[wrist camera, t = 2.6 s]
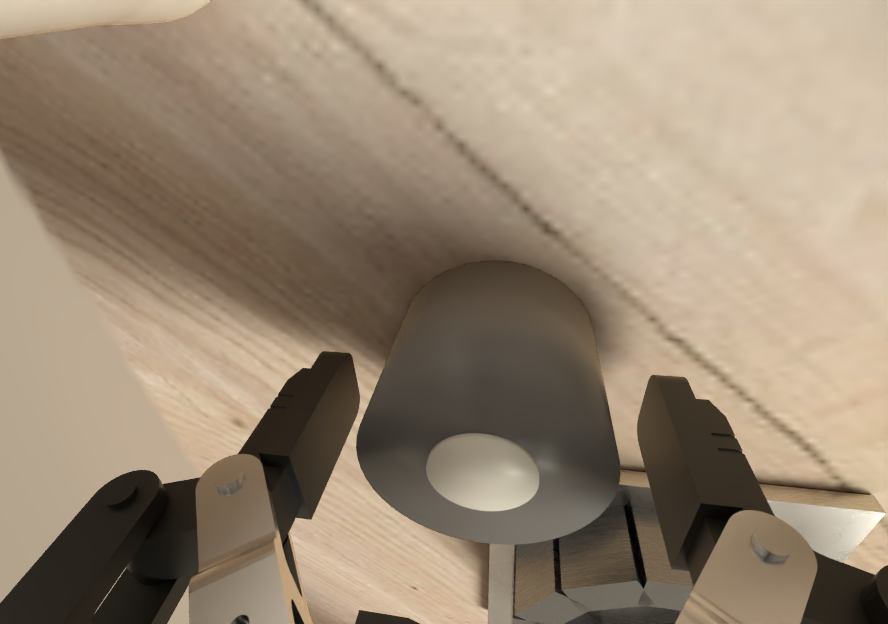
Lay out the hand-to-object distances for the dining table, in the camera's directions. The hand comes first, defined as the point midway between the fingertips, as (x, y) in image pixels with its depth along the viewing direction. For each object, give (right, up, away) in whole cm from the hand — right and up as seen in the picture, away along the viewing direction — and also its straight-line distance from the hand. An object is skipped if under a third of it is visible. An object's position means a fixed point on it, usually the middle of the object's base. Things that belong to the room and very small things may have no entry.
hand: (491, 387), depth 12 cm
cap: (0, +1, +1) cm, 2 cm away
